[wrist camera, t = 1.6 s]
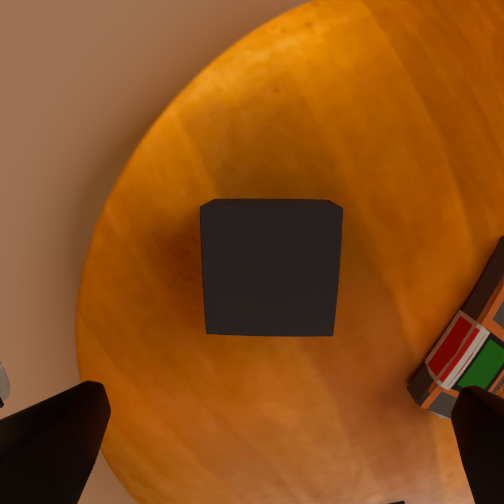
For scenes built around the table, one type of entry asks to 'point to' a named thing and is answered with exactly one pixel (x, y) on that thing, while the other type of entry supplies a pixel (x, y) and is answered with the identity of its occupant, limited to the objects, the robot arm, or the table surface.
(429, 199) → the table surface
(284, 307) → the dark grey square block
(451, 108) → the table surface
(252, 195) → the table surface
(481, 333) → the electronic device
